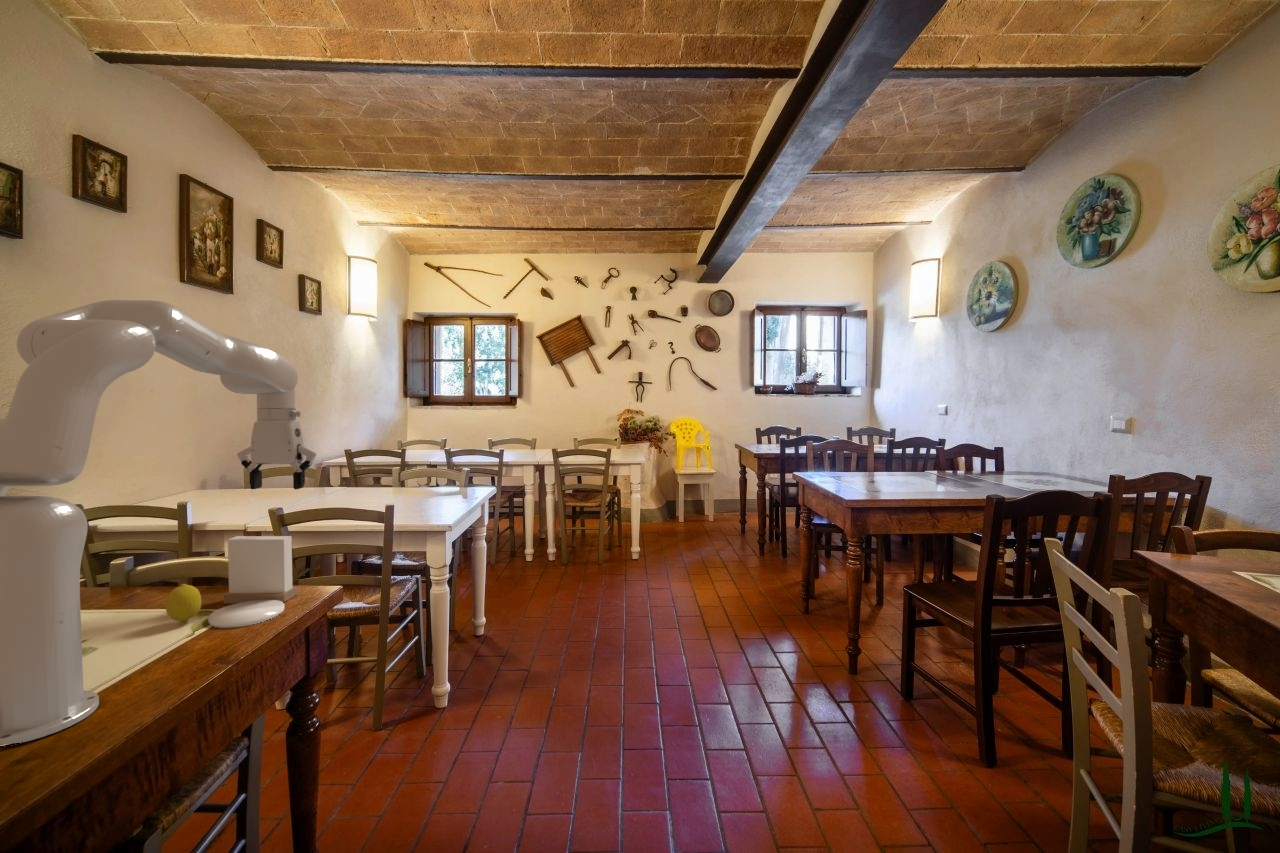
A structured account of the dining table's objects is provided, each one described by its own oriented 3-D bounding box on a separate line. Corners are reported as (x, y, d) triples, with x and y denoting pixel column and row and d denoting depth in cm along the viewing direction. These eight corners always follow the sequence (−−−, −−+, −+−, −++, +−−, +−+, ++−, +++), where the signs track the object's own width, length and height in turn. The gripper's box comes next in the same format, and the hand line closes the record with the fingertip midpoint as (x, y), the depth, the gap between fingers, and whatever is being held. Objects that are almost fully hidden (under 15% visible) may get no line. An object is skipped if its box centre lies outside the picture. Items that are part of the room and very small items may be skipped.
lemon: (186, 628, 109) (185, 588, 108) (158, 628, 109) (157, 588, 108) (209, 617, 114) (208, 579, 114) (182, 617, 114) (181, 579, 114)
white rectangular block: (284, 603, 123) (283, 540, 122) (223, 603, 122) (222, 540, 122) (297, 595, 128) (296, 535, 127) (239, 595, 127) (237, 535, 127)
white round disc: (260, 627, 110) (260, 622, 110) (191, 628, 109) (191, 623, 109) (297, 603, 123) (297, 599, 123) (236, 604, 122) (236, 599, 122)
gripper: (322, 415, 134) (323, 486, 135) (248, 415, 133) (250, 485, 134) (305, 416, 127) (306, 491, 128) (227, 416, 126) (228, 490, 127)
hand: (277, 488), depth 131 cm, fingers open, 9 cm apart
